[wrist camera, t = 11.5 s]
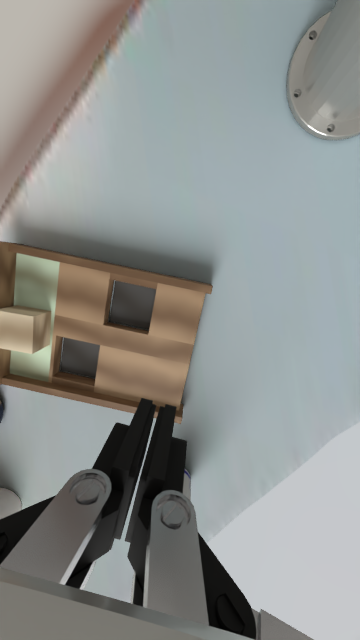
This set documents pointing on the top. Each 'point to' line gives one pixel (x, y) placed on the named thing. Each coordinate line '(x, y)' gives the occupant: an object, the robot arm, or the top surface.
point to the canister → (1, 411)
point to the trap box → (101, 329)
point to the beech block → (24, 329)
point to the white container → (8, 503)
